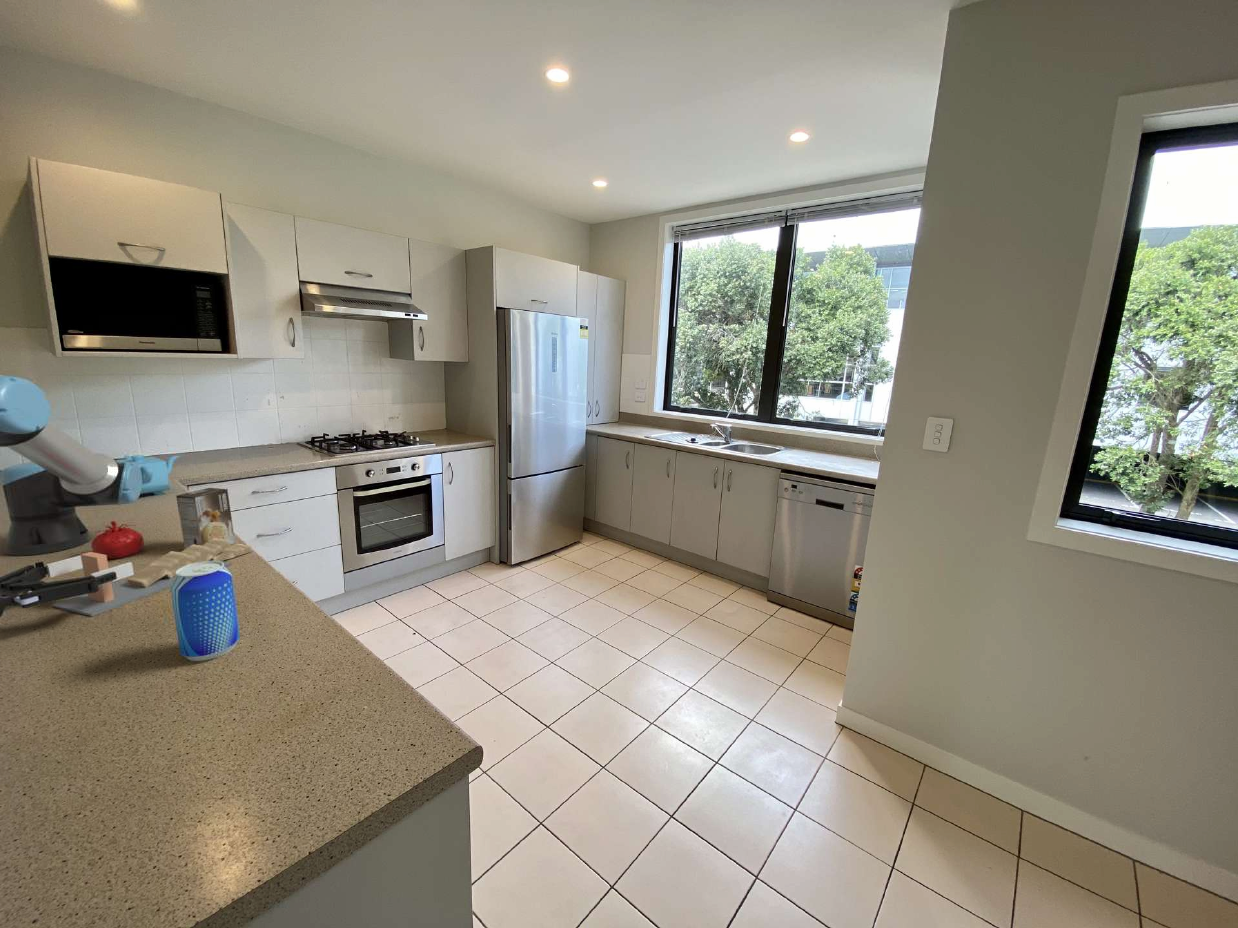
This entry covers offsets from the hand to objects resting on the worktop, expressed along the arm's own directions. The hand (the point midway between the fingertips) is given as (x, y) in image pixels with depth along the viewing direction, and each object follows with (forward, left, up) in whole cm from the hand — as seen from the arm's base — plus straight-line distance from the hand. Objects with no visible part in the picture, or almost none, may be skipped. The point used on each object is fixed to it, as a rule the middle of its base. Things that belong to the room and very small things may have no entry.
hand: (109, 563), depth 107 cm
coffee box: (-10, +27, -8) cm, 30 cm away
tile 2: (0, +4, -6) cm, 7 cm away
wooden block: (0, +19, -6) cm, 20 cm away
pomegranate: (-26, +16, -8) cm, 31 cm away
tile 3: (0, +9, -6) cm, 11 cm away
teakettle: (-87, +57, -8) cm, 105 cm away
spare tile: (0, -2, -7) cm, 7 cm away
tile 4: (0, +14, -6) cm, 15 cm away
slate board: (0, +7, -7) cm, 10 cm away
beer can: (+40, -8, -8) cm, 42 cm away
